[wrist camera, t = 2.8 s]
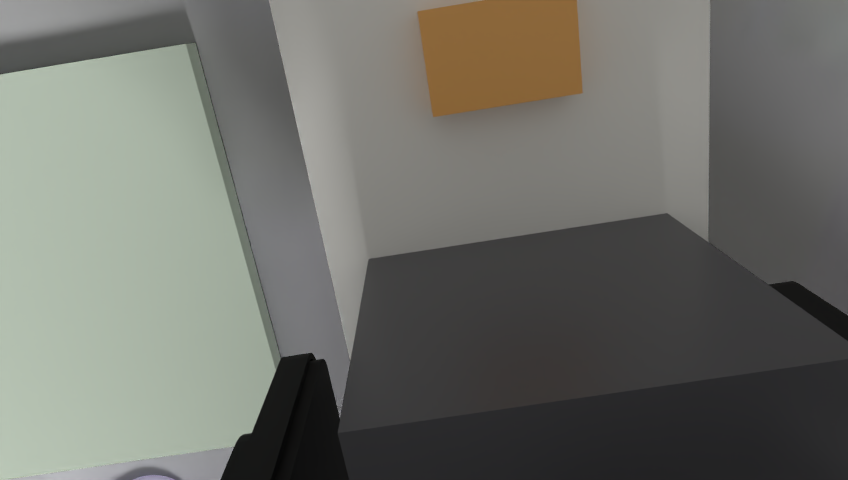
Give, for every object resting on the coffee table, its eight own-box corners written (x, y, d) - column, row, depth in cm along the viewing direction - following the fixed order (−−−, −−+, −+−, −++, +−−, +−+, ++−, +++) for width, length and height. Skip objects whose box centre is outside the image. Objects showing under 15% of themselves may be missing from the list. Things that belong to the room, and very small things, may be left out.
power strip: (653, 613, 19) (715, 763, 15) (437, 643, 19) (443, 797, 15) (630, -82, 12) (731, -133, 8) (298, -26, 12) (248, -51, 9)
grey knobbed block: (645, 414, 14) (885, 807, 7) (415, 447, 14) (420, 864, 7) (637, 191, 12) (952, 416, 5) (373, 232, 12) (324, 505, 5)
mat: (298, 423, 16) (294, 437, 16) (-55, 474, 17) (-71, 490, 16) (195, 43, 13) (185, 43, 12) (-244, 115, 13) (-274, 119, 13)
